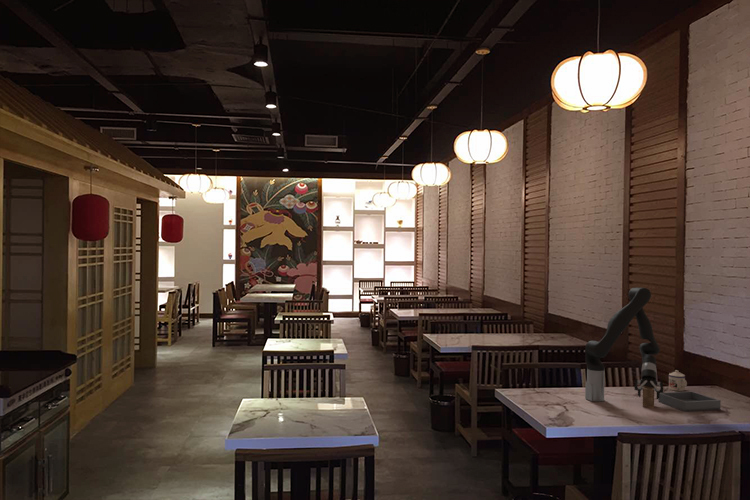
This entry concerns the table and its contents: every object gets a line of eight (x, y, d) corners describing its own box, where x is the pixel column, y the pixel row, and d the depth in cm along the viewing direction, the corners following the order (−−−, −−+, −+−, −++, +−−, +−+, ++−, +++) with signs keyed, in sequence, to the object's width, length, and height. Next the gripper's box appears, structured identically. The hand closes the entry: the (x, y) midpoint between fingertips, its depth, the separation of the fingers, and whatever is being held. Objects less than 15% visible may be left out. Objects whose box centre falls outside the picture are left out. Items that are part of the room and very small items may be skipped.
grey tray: (685, 411, 296) (685, 402, 296) (658, 401, 316) (658, 392, 316) (720, 409, 301) (720, 400, 301) (691, 400, 321) (692, 391, 321)
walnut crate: (642, 406, 305) (642, 388, 305) (642, 404, 310) (643, 386, 310) (654, 408, 303) (654, 389, 303) (654, 405, 308) (654, 387, 308)
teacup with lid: (664, 388, 349) (665, 369, 349) (676, 387, 351) (677, 368, 351) (680, 392, 337) (680, 373, 337) (692, 392, 340) (692, 372, 340)
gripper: (634, 367, 317) (633, 392, 307) (663, 369, 310) (663, 395, 300) (635, 375, 322) (634, 399, 311) (663, 377, 315) (663, 402, 305)
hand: (648, 397), depth 306 cm, fingers open, 8 cm apart
